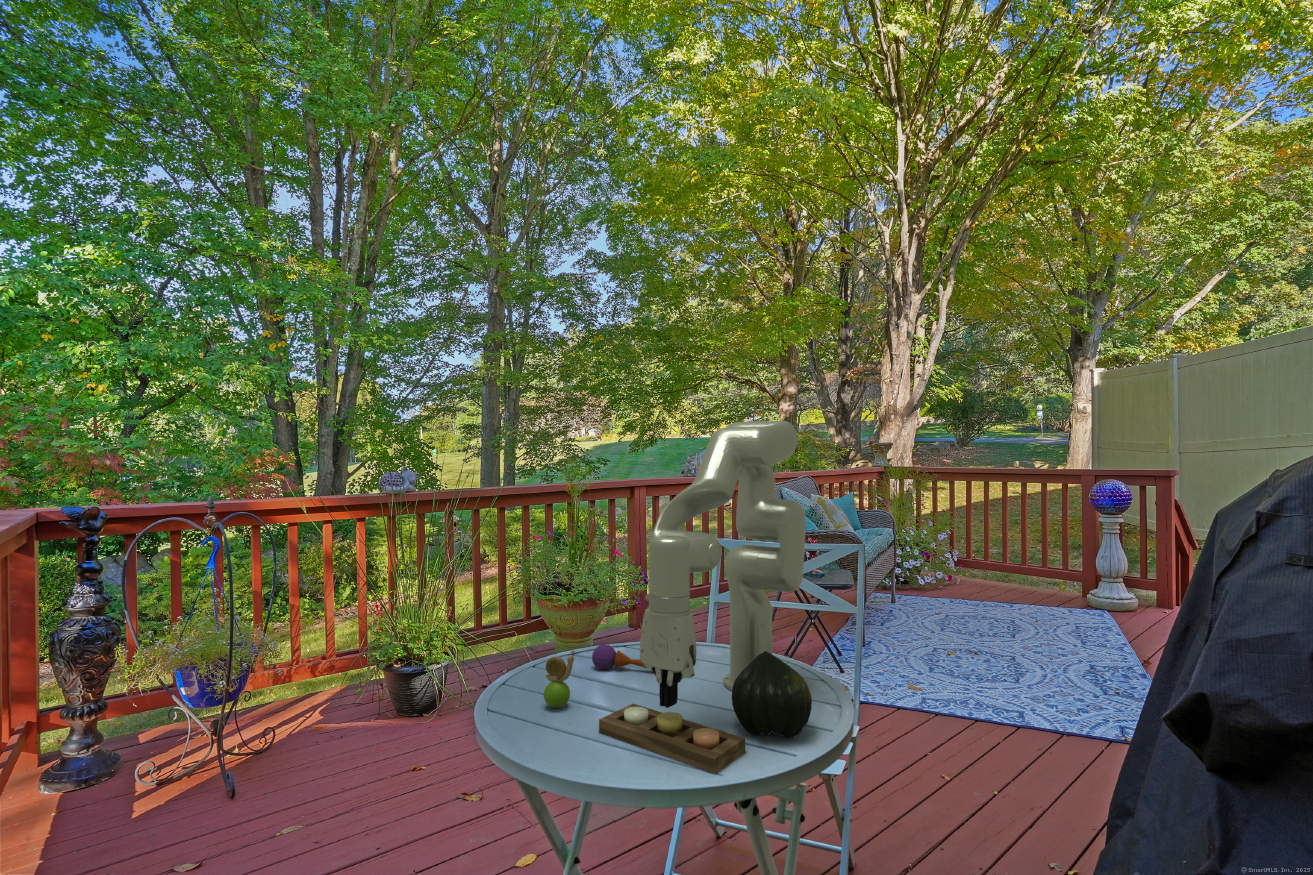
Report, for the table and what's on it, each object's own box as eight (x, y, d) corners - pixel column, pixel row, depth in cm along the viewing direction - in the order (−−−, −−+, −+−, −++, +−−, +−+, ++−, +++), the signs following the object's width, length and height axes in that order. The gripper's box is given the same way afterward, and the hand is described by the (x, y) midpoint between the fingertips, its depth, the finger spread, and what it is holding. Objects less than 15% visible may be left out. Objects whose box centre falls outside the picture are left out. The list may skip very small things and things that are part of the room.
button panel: (632, 715, 133) (632, 703, 133) (745, 752, 117) (745, 737, 117) (599, 732, 125) (599, 719, 125) (714, 773, 109) (714, 758, 109)
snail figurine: (569, 713, 134) (569, 654, 134) (539, 711, 135) (539, 652, 136) (578, 703, 139) (578, 646, 140) (549, 701, 141) (549, 644, 141)
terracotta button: (702, 735, 119) (702, 725, 119) (724, 742, 117) (724, 732, 117) (687, 744, 116) (687, 734, 116) (709, 752, 113) (709, 741, 113)
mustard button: (667, 719, 124) (667, 709, 124) (687, 725, 121) (687, 715, 122) (652, 727, 121) (652, 717, 121) (672, 734, 118) (672, 724, 118)
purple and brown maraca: (669, 662, 154) (588, 649, 159) (669, 686, 156) (588, 672, 160) (675, 650, 160) (597, 638, 165) (674, 673, 161) (596, 660, 166)
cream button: (634, 714, 129) (634, 704, 129) (653, 719, 126) (653, 710, 126) (619, 721, 126) (619, 712, 126) (637, 727, 123) (637, 718, 123)
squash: (795, 728, 114) (806, 647, 124) (714, 716, 121) (731, 640, 130) (812, 758, 123) (821, 680, 133) (736, 745, 130) (750, 672, 139)
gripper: (625, 601, 123) (624, 701, 122) (690, 613, 114) (690, 721, 113) (650, 595, 129) (649, 690, 128) (714, 606, 120) (714, 708, 119)
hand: (668, 704), depth 121 cm, fingers closed
